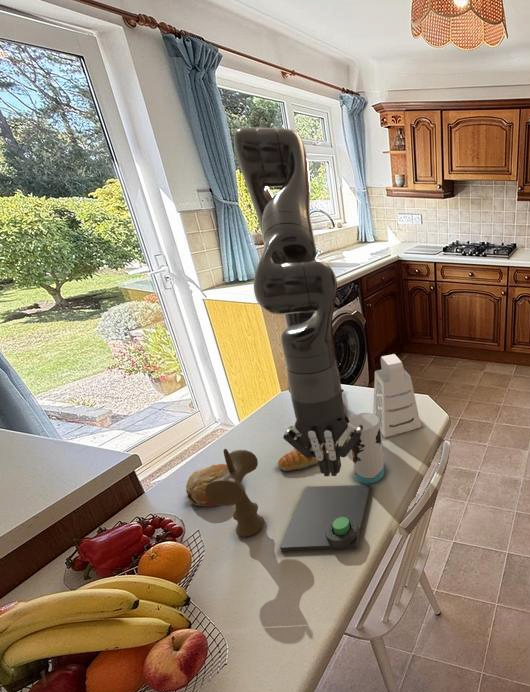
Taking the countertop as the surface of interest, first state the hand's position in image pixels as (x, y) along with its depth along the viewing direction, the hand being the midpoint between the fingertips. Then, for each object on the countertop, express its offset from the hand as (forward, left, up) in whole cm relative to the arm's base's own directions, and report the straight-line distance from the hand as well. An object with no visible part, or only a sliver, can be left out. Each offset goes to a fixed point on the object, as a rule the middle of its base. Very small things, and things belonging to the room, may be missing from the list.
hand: (331, 472), depth 72 cm
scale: (-5, -4, -17) cm, 18 cm away
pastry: (-23, -15, -17) cm, 33 cm away
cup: (-18, +2, -17) cm, 25 cm away
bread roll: (-14, -31, -17) cm, 38 cm away
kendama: (-3, -19, -17) cm, 26 cm away
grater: (-39, +6, -17) cm, 43 cm away
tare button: (0, 0, -14) cm, 14 cm away
